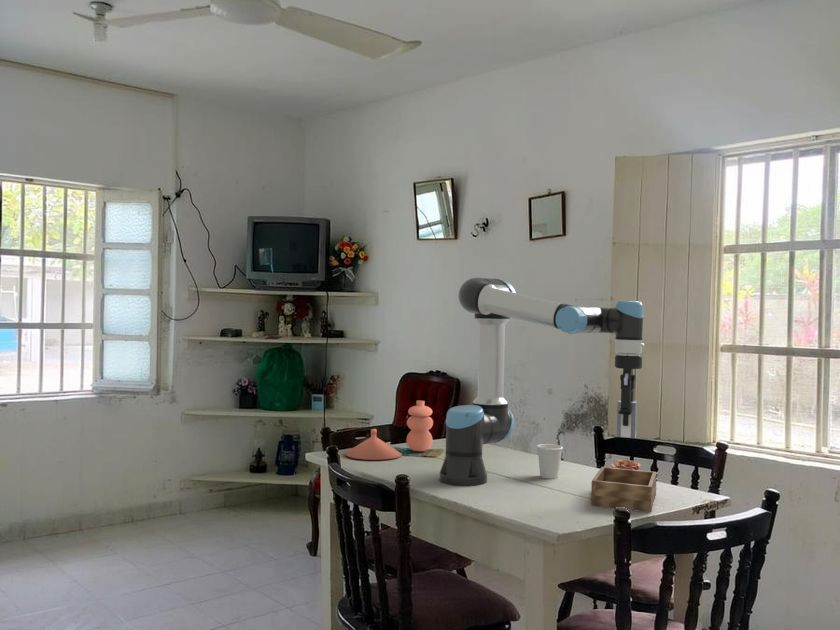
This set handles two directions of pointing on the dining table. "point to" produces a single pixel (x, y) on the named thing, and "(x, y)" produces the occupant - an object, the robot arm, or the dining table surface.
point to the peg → (633, 419)
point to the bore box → (624, 489)
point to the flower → (626, 464)
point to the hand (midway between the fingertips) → (626, 435)
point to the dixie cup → (549, 460)
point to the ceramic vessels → (415, 440)
